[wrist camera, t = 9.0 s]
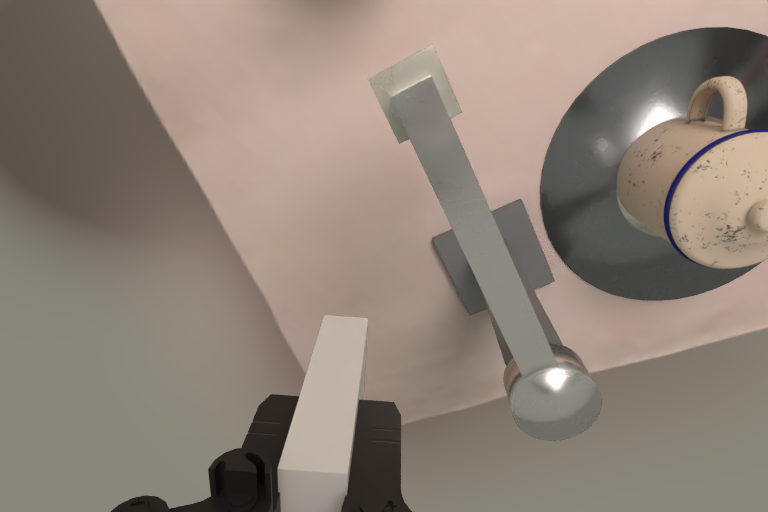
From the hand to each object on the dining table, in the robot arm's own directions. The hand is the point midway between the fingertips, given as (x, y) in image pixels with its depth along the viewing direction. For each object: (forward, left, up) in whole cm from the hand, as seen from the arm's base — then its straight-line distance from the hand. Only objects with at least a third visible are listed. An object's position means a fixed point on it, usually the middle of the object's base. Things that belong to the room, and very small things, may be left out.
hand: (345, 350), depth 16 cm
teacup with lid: (-21, +8, -25) cm, 34 cm away
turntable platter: (-22, +11, -25) cm, 35 cm away
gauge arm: (-6, +3, -11) cm, 12 cm away
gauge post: (-6, +11, -25) cm, 28 cm away
